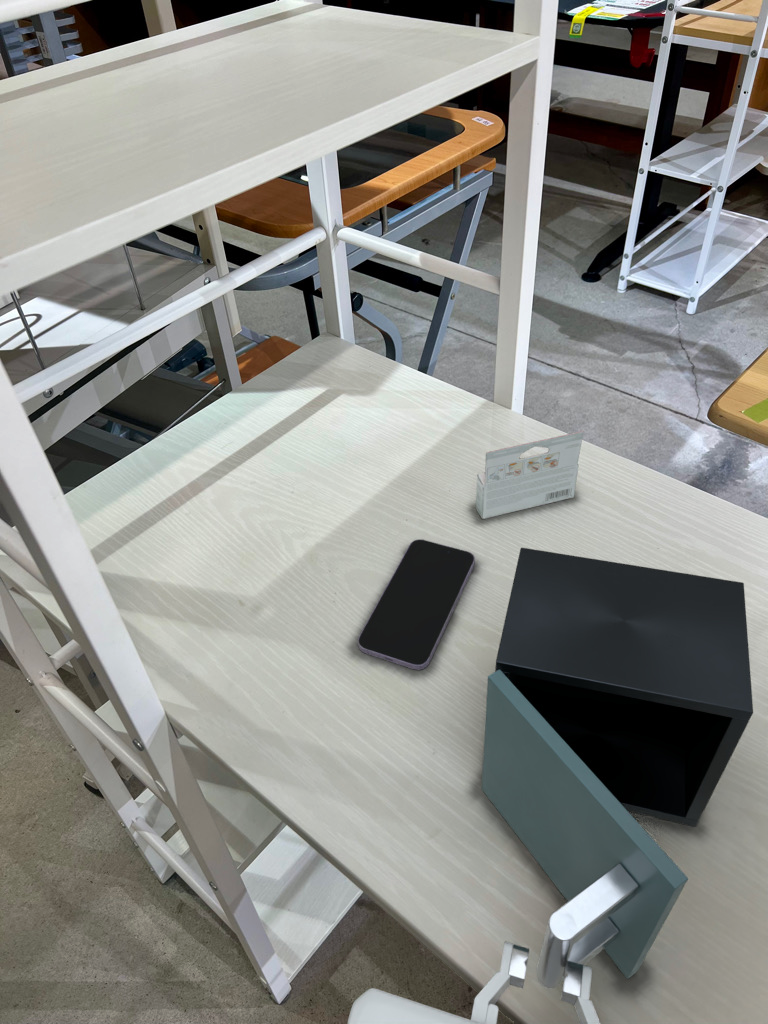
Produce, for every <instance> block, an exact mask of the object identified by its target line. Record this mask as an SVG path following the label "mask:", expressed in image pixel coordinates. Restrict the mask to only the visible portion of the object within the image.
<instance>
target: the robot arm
mask: <svg viewBox="0 0 768 1024" xmlns="http://www.w3.org/2000/svg"><path fill="white" fill-rule="evenodd" d="M529 954H530V948H529V947H525V946H521V945H520V944H519V945H518V944H515V943H513V942H508V941H506V940H505V941H504V945H503V950H502V955H501V961H500V966H499V971H496V972H495V974H494V975H493V976H492V977H491V978H490V979H489V980H488V981H487V983H486V984H485V985H484V986H483V988H481V990H480V991H479V992H478V994H477V995H475V997H474V1001H473V1006H472V1010H471V1011H472V1012H471V1017H470V1019H469V1018H466V1017H463V1016H460V1015H457V1014H454V1013H451V1012H448V1011H445V1010H442V1009H439V1008H436V1007H433V1006H430V1005H427V1004H423V1003H421V1002H417V1001H415V1000H411V999H409V998H406V997H402V996H400V995H396V994H394V993H390V992H387V991H384V990H382V989H378V988H374V987H371V988H369V989H367V990H365V991H364V992H363V993H362V994H361V995H359V997H357V998H356V999H355V1000H354V1002H353V1004H352V1006H351V1009H350V1012H349V1015H348V1019H347V1023H346V1024H498V1018H499V1009H500V1008H499V1006H498V1005H496V1003H497V1002H498V1001H499V1000H500V998H502V996H503V994H504V993H505V992H506V991H507V989H508V988H509V987H510V986H513V987H516V988H518V989H519V988H520V989H524V986H525V980H526V973H527V967H528V960H529ZM592 975H593V967H592V966H589V965H586V964H585V965H582V964H578V963H575V962H571V961H568V960H566V964H565V967H564V974H563V981H564V982H562V986H561V993H560V1001H561V1002H564V1003H567V1004H570V1005H573V1006H574V1009H575V1011H576V1014H577V1017H578V1020H579V1023H580V1024H601V1022H600V1021H601V1020H600V1019H599V1016H598V1013H597V1011H596V1007H595V1005H594V1003H593V1001H592V1000H590V998H591V985H592Z"/></svg>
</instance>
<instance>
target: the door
mask: <svg viewBox="0 0 768 1024" xmlns="http://www.w3.org/2000/svg"><path fill="white" fill-rule="evenodd" d="M486 683H487V684H486V685H487V686H486V701H485V702H486V703H485V719H484V720H485V721H484V739H483V756H482V773H481V790H482V791H483V794H485V796H486V797H487V799H488V800H489V801H490V803H492V804H493V806H494V807H495V809H496V810H497V811H498V813H499V814H500V815H501V817H502V818H503V819H504V820H505V822H506V823H507V825H509V827H510V829H512V831H513V832H514V833H515V835H516V836H517V838H519V840H520V841H521V843H522V844H523V845H524V846H525V848H526V849H527V850H528V852H529V853H530V854H531V856H532V857H533V858H534V859H535V861H536V862H537V864H538V865H539V866H540V867H541V869H542V870H543V872H544V873H545V874H546V875H547V877H548V878H549V879H550V880H551V882H552V883H553V884H554V886H555V887H556V888H557V890H558V891H559V892H560V894H562V896H563V898H564V899H565V900H566V902H565V903H564V904H562V905H561V906H560V907H558V908H557V909H556V910H554V911H553V912H552V913H551V914H550V916H549V919H548V922H547V925H546V930H545V933H544V938H543V942H542V946H541V950H540V954H539V958H538V962H537V965H536V971H535V975H536V979H537V981H538V982H539V984H540V985H541V986H543V987H544V988H545V989H549V990H553V989H557V988H558V987H559V986H560V985H561V984H563V982H564V981H563V974H564V967H565V964H566V960H568V961H571V962H575V963H578V964H582V965H586V964H587V963H588V962H589V961H591V960H593V958H595V957H596V956H597V955H599V954H600V953H601V952H602V951H603V950H604V951H605V952H606V954H607V955H608V956H609V958H610V959H611V960H612V961H613V963H614V964H615V966H616V967H617V968H618V969H619V971H620V972H621V973H622V975H623V976H624V977H625V978H626V980H629V979H630V978H631V977H633V975H635V974H636V973H637V972H638V971H639V969H640V968H641V966H642V964H643V962H644V960H645V959H646V957H647V955H648V953H649V951H650V950H651V948H652V947H653V945H654V942H655V941H656V939H657V937H658V935H659V933H660V931H661V930H662V928H663V926H664V924H665V922H666V921H667V919H668V917H669V915H670V913H671V911H672V910H673V908H674V906H675V904H676V902H677V900H678V899H679V897H680V895H681V893H682V892H683V890H684V888H685V886H686V884H687V882H688V880H689V877H688V876H687V875H686V874H685V873H684V872H683V871H682V870H681V868H679V866H678V865H677V864H676V863H675V862H674V860H672V858H670V856H669V855H668V854H667V853H666V852H665V851H664V849H662V847H660V845H659V843H657V842H656V841H655V840H654V838H652V836H651V835H650V834H649V833H648V832H647V831H646V830H645V829H644V827H642V825H641V824H640V823H639V822H638V821H637V819H635V817H633V815H632V814H631V813H630V811H627V810H626V809H625V808H624V807H623V805H622V804H621V803H620V802H619V801H618V800H617V799H616V798H615V797H614V796H613V794H612V793H611V792H610V791H609V790H608V789H607V788H606V787H605V786H604V784H603V783H602V782H601V781H600V780H599V779H598V778H597V777H596V776H595V774H594V773H593V772H592V771H591V770H590V769H589V768H588V767H587V766H586V765H585V763H584V762H583V761H582V760H581V759H580V758H579V757H578V756H577V755H576V753H575V752H574V751H573V750H572V749H571V748H570V747H569V746H568V745H567V743H566V742H565V741H564V740H563V739H562V738H561V737H560V736H559V735H558V733H557V732H556V731H555V730H554V729H553V728H552V727H551V726H550V725H549V724H548V722H547V721H546V720H545V719H544V718H543V717H542V716H541V715H540V714H539V712H538V711H537V710H536V709H535V708H534V707H533V706H532V705H531V704H530V702H529V701H528V700H527V699H526V698H525V697H524V696H523V695H522V694H521V692H520V691H519V690H518V689H517V688H516V687H515V686H514V685H513V684H512V683H511V681H510V680H509V679H508V678H507V677H506V676H505V675H504V674H503V673H502V671H501V670H500V669H499V670H497V671H496V672H495V671H494V672H492V673H491V674H489V675H488V676H487V682H486Z"/></svg>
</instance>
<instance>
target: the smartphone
mask: <svg viewBox="0 0 768 1024" xmlns="http://www.w3.org/2000/svg"><path fill="white" fill-rule="evenodd" d="M475 564H476V558H475V555H474V554H473V553H472V552H471V551H469V550H468V551H467V550H465V549H460V548H457V547H452V546H449V545H445V544H441V543H438V542H434V541H430V540H426V539H421V538H420V539H415V540H412V542H410V544H409V545H408V547H407V548H406V551H405V553H404V554H403V556H402V557H401V559H400V562H399V563H398V565H397V566H396V569H395V570H394V573H393V574H392V576H391V578H390V580H389V581H388V583H387V585H386V587H385V589H384V590H383V591H382V594H381V596H380V597H379V599H378V601H377V603H376V605H375V607H374V609H373V610H372V612H371V614H370V616H369V618H368V619H367V620H366V623H365V625H364V627H363V628H362V630H361V631H360V634H359V636H358V639H357V646H358V649H359V650H360V652H362V653H363V654H366V655H369V656H372V657H374V658H377V659H381V660H384V661H387V662H389V663H393V664H396V665H399V666H402V667H405V668H409V669H411V670H417V671H421V670H424V669H426V668H427V667H428V666H429V665H430V663H431V661H432V658H433V656H434V654H435V652H436V650H437V648H438V645H439V643H440V641H441V639H442V636H443V635H444V632H445V631H446V628H447V626H448V625H449V622H450V620H451V617H452V615H453V613H454V611H455V609H456V606H457V604H458V602H459V600H460V598H461V596H462V594H463V592H464V589H465V588H466V585H467V582H468V580H469V578H470V576H471V574H472V573H473V570H474V568H475Z"/></svg>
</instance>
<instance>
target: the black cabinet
mask: <svg viewBox="0 0 768 1024" xmlns="http://www.w3.org/2000/svg"><path fill="white" fill-rule="evenodd" d="M515 567H516V568H515V572H514V576H513V581H512V584H511V585H512V586H511V592H510V595H509V600H508V603H507V608H506V613H505V618H504V623H503V628H502V632H501V637H500V641H499V645H498V650H497V654H496V659H495V669H494V672H496V671H497V670H499V669H500V670H501V671H502V673H503V674H504V675H505V676H506V677H507V678H508V679H509V680H510V681H511V683H512V684H513V685H514V686H515V687H516V688H517V689H518V690H519V691H520V692H521V694H522V695H523V696H524V697H525V698H526V699H527V700H528V701H529V702H530V704H531V705H532V706H533V707H534V708H535V709H536V710H537V711H538V712H539V714H540V715H541V716H542V717H543V718H544V719H545V720H546V721H547V722H548V724H549V725H550V726H551V727H552V728H553V729H554V730H555V731H556V732H557V733H558V735H559V736H560V737H561V738H562V739H563V740H564V741H565V742H566V743H567V745H568V746H569V747H570V748H571V749H572V750H573V751H574V752H575V753H576V755H577V756H578V757H579V758H580V759H581V760H582V761H583V762H584V763H585V765H586V766H587V767H588V768H589V769H590V770H591V771H592V772H593V773H594V774H595V776H596V777H597V778H598V779H599V780H600V781H601V782H602V783H603V784H604V786H605V787H606V788H607V789H608V790H609V791H610V792H611V793H612V794H613V796H614V797H615V798H616V799H617V800H618V801H619V802H620V803H621V804H622V805H623V807H624V808H625V809H626V810H627V811H628V812H629V813H630V812H631V813H633V814H634V813H635V814H639V815H643V816H648V817H650V818H651V817H652V818H655V819H660V820H665V821H667V822H668V821H669V822H673V823H678V824H681V825H685V826H689V827H693V828H696V827H697V825H698V823H699V821H700V820H701V818H702V815H703V814H704V812H705V809H706V807H707V805H708V803H709V801H710V799H711V797H712V795H713V793H714V791H715V790H716V788H717V785H718V784H719V782H720V780H721V778H722V776H723V774H724V772H725V770H726V768H727V765H728V764H729V762H730V761H731V758H732V756H733V754H734V752H735V750H736V748H737V746H738V744H739V742H740V741H741V739H742V736H743V734H744V732H745V730H746V728H747V726H748V724H749V722H750V720H751V718H752V716H753V714H754V707H753V705H754V704H753V691H752V690H753V689H752V678H751V676H752V675H751V665H750V651H749V636H748V622H747V608H746V594H745V583H744V582H740V581H736V580H730V579H723V578H716V577H710V576H705V575H704V576H703V575H698V574H692V573H691V574H690V573H684V572H679V571H671V570H665V569H659V568H653V567H649V566H648V567H647V566H641V565H634V564H627V563H623V562H622V563H621V562H616V561H608V560H603V559H596V558H590V557H585V556H584V557H583V556H577V555H571V554H565V553H558V552H552V551H545V550H541V549H540V550H539V549H535V548H527V547H520V550H519V553H518V558H517V563H516V566H515Z"/></svg>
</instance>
